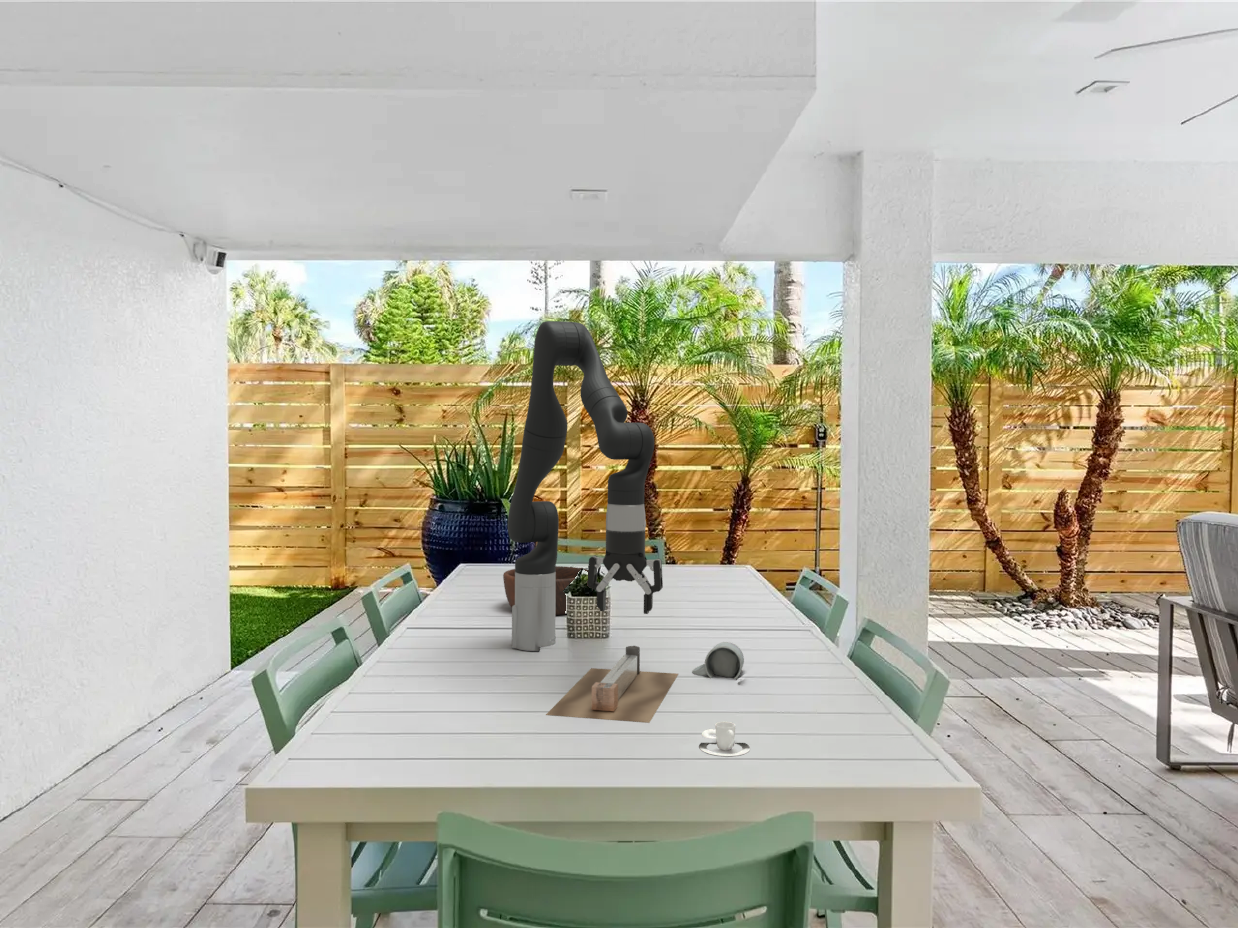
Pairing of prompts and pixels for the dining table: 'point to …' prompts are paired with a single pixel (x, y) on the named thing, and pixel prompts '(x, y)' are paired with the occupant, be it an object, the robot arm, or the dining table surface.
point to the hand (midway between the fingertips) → (624, 611)
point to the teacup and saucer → (723, 739)
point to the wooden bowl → (562, 581)
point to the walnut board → (632, 704)
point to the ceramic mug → (722, 661)
